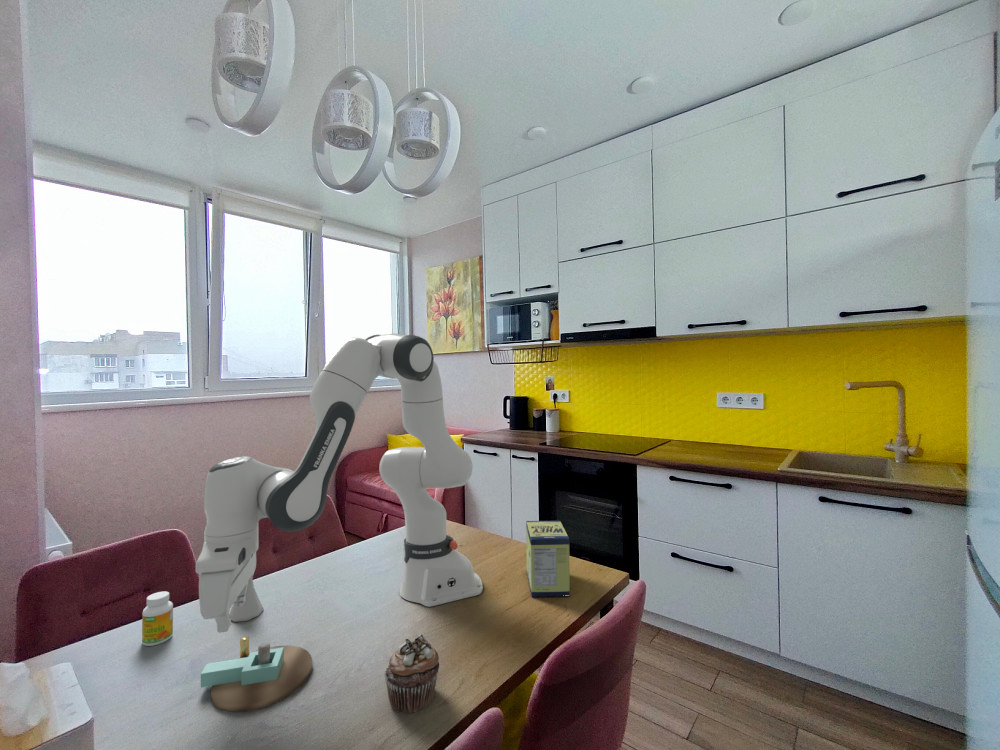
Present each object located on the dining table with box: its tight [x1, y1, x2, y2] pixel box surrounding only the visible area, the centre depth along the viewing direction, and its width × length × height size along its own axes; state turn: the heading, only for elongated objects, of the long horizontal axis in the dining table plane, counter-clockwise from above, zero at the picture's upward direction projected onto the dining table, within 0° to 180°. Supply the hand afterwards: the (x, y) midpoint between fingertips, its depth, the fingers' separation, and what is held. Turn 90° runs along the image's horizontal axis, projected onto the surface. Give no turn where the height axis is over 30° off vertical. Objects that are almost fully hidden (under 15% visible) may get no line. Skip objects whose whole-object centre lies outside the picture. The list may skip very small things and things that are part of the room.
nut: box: [200, 647, 284, 689], centre depth 83 cm, size 13×6×2 cm, turn 106°
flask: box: [229, 572, 264, 623], centre depth 107 cm, size 7×7×10 cm
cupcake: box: [384, 633, 440, 714], centre depth 79 cm, size 10×10×10 cm
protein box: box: [525, 520, 571, 598], centre depth 122 cm, size 10×16×16 cm
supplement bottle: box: [141, 590, 174, 647], centre depth 97 cm, size 5×5×10 cm
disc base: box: [210, 642, 313, 713], centre depth 84 cm, size 17×17×6 cm
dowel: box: [239, 635, 250, 658], centre depth 88 cm, size 2×2×4 cm
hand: (232, 616), depth 83 cm, fingers open, 8 cm apart
